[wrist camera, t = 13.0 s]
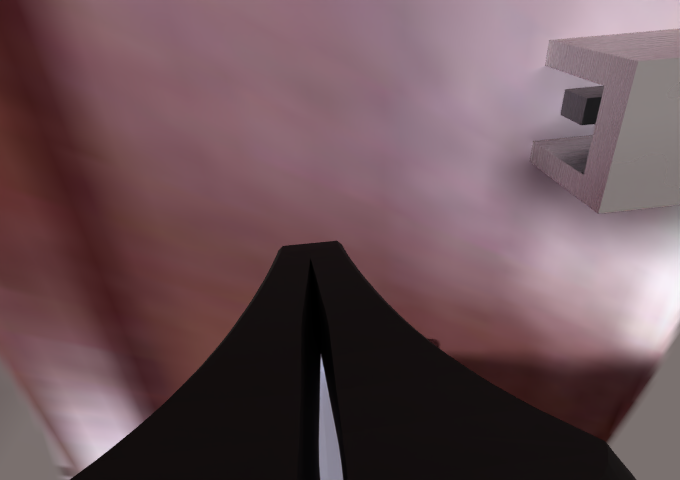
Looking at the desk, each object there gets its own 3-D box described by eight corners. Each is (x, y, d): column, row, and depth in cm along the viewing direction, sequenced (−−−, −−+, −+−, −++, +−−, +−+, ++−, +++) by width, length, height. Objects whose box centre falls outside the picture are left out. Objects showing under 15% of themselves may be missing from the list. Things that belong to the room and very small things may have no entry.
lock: (529, 160, 19) (598, 213, 15) (548, 40, 17) (638, 61, 12) (705, 143, 19) (822, 189, 15) (749, 21, 17) (905, 36, 13)
